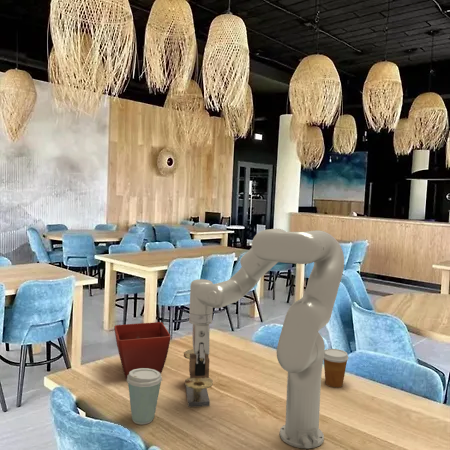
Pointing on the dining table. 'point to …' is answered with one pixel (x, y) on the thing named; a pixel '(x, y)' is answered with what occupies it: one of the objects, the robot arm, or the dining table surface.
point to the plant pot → (142, 346)
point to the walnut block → (192, 366)
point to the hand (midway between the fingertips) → (199, 370)
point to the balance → (197, 388)
